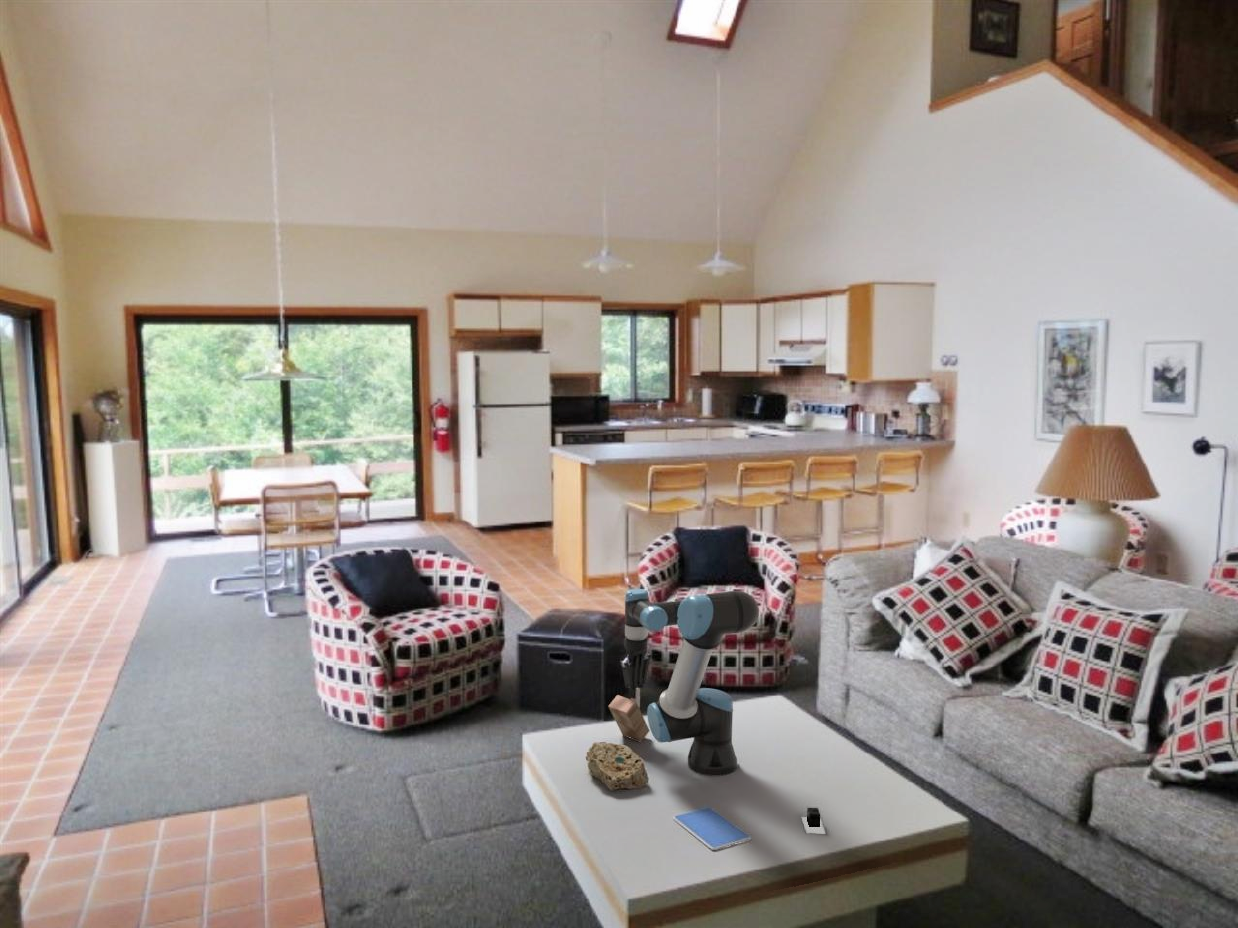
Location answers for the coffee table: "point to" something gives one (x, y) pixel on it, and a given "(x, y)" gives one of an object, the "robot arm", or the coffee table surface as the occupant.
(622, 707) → the light brown wooden block
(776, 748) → the coffee table surface
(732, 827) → the tablet computer
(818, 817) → the black block
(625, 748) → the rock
